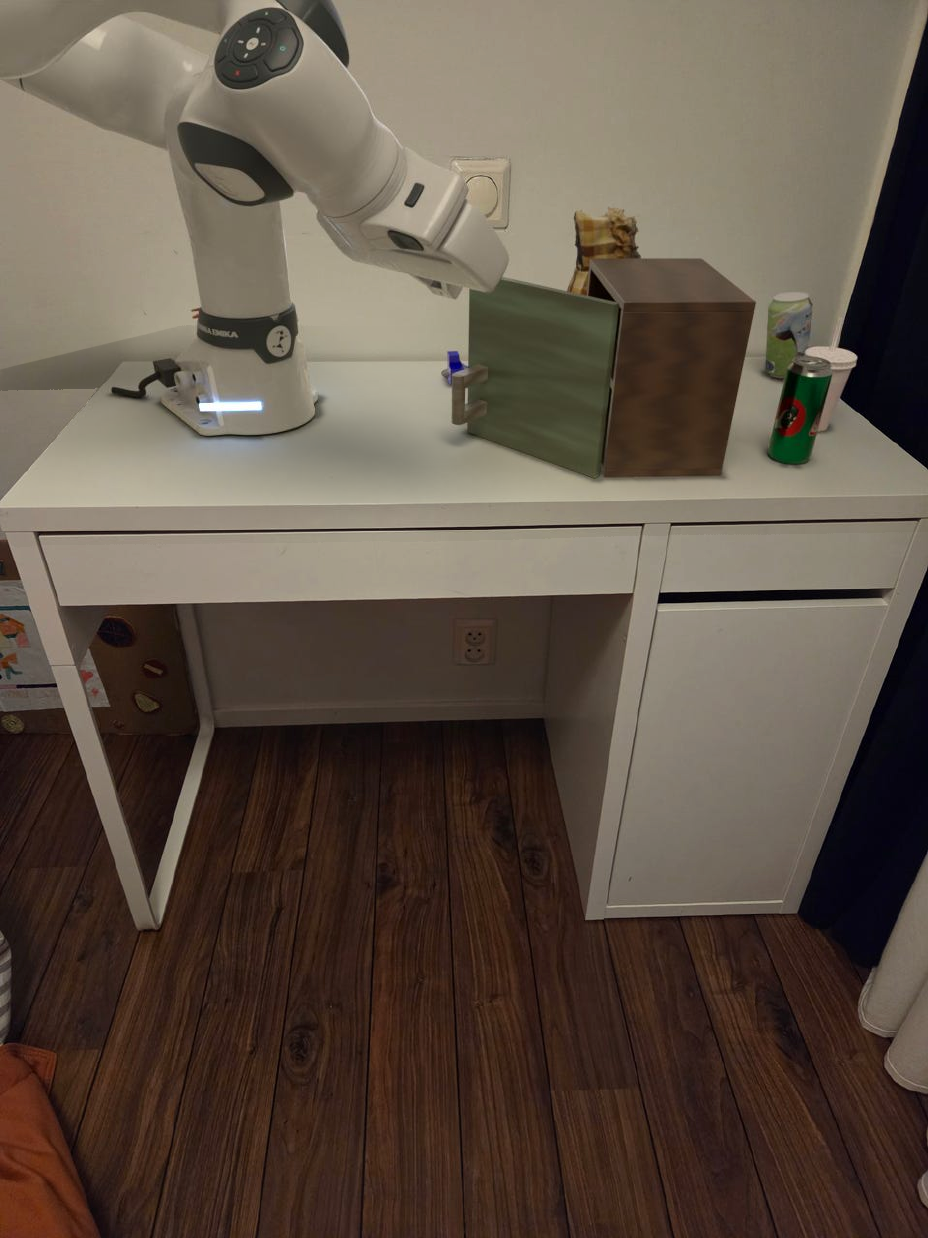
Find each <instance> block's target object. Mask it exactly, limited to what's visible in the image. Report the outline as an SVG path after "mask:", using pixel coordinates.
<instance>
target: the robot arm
mask: <svg viewBox="0 0 928 1238" xmlns="http://www.w3.org/2000/svg"><path fill="white" fill-rule="evenodd" d="M335 5H336V4H335V3H334V2H333V0H0V80H1V81H3V82H5V83H6V84H8V85H9V86H10V85H11V86H12V87H14V88H17V89H19V90H20V91H22V92H25V93H27V94H28V95H31V96H33V97H35V98H37V99H39V100H41V101H43V102H45V103H47V104H50V105H52V106H54V107H56V108H58V109H60V110H63V112H66V113H69V114H71V115H72V116H74V117H77V118H79V119H82V120H84V121H86V122H88V123H89V124H92V125H93V126H96V127H98V128H101V130H105V131H108V132H112V133H115V134H118V135H122V136H125V137H128V138H130V139H133V140H136V141H140V142H142V143H143V144H144V143H145V144H147V145H150V146H152V147H155V148H158V149H161V150H163V151H165V152H168V157H169V162H170V166H171V170H172V174H173V179H174V184H175V187H176V191H177V196H178V200H179V203H180V208H181V211H182V216H183V219H184V223H185V225H186V229H187V233H188V237H189V242H190V247H191V252H192V260H193V265H194V270H195V271H194V272H195V277H196V284H197V291H198V295H199V302H200V307H197V308H192V309H191V310H190V312H194V313H195V312H198V313H196V314H195V315H192V316H191V317H192V319H194V320H195V319H197V322H196V323H197V324H196V337H195V338H194V340H193V341H192V342H191V343H190V344H189V345H188V346H187V347H186V348H185V349H184V350H183V351H182V352H181V353H180V354H178V356H177V357H176V359H175V360H174V359H173V358H171V357H169V358H162V359H156V360H153V361H152V366H153V370H154V373H152V374H150V375H148V376H146V377H145V378H143V379H142V380H140V381H139V383H138V386H137V388H138V390H132V389H126V388H122V387H118V386H111V388H110V392H111V393H112V394H116V395H120V396H124V397H129V398H136V399H139V398H144V397H145V396H146V395H147V390H146V387H148V385H150V384H152V383H154V382H156V381H158V382H159V383H160V384H161V385H163V386H164V387H165V388H166V389H168V388H171V389H169V390H167V391H166V392H163V394H161V396H160V401H161V404H162V405H163V406H164V407H165V408H166V409H168V410H169V411H170V412H172V413H173V414H174V415H176V417H178V418H179V419H180V420H181V421H183V422H184V423H186V424H187V426H189V427H190V428H191V429H193V430H194V431H196V432H197V433H198V434H199V435H201V436H209V437H210V436H212V437H213V436H221V435H222V436H223V435H242V436H261V435H269V434H270V435H271V434H277V433H281V432H285V431H290V430H293V429H296V428H299V427H301V426H302V425H305V424H306V423H308V422H309V421H311V420H312V419H313V418H314V416H315V415H316V408H315V404H316V402H317V401H318V400H319V395H318V391H317V390H316V389H314V388H312V383H311V378H310V373H309V372H310V371H309V367H308V362H307V357H306V352H305V347H304V344H303V342H302V341H301V340H300V339H299V338H297V337H298V335H299V324H298V322H299V317H298V314H297V309H296V304H295V303H294V302H293V301H292V294H291V293H292V292H291V283H290V273H289V272H290V271H289V262H288V255H287V253H288V252H287V243H286V234H285V230H284V229H285V228H284V223H283V216H282V208H281V201H285V200H288V199H291V198H292V197H294V194H295V193H301V194H304V195H306V197H307V198H308V200H309V202H310V203H311V204H312V205H313V206H314V207H315V209H316V210H317V212H316V220H317V222H318V224H319V225H320V227H321V228H322V230H323V231H324V232H325V234H326V235H327V236H328V238H329V239H330V240H331V241H332V243H333V244H334V245H335V246H336V248H337V249H338V250H339V251H340V252H341V253H342V254H343V255H344V256H346V257H347V258H348V259H350V260H352V261H354V262H357V263H361V264H365V265H369V266H374V267H378V268H382V269H386V270H390V271H394V272H398V273H402V274H407V275H409V276H410V277H412V278H413V279H415V280H417V281H418V282H419V283H421V284H422V285H424V286H425V287H427V289H429V291H430V292H431V293H432V294H433V295H436V296H439V297H446V298H448V299H451V300H457V299H458V298H459V296H460V295H461V292H462V291H463V288H464V289H468V290H469V289H473V290H477V291H481V292H485V293H491V292H492V291H493V290H494V289H495V287H496V286H497V284H498V283H499V281H500V280H501V278H502V277H504V274H505V272H506V270H507V268H508V265H509V262H510V256H509V253H508V250H507V248H506V246H505V244H504V243H503V241H502V239H501V238H500V236H499V235H498V233H497V232H496V230H495V228H494V227H493V226H492V224H491V222H490V221H489V219H488V218H487V216H486V215H485V214H484V213H483V211H482V210H481V209H480V208H479V207H478V206H477V205H475V203H473V202H472V201H470V200H468V199H467V196H468V193H469V185H468V184H467V182H466V181H465V180H464V178H463V177H462V176H461V175H460V174H458V173H457V172H455V171H452V170H450V169H447V168H445V167H442V166H440V165H437V164H435V163H433V162H431V161H429V160H428V159H426V158H424V157H421V155H419V154H418V153H416V152H415V151H413V150H412V149H411V148H409V147H406V146H402V145H401V143H400V142H399V140H398V139H397V137H396V136H395V135H394V133H393V132H392V130H390V128H388V127H387V126H386V125H384V124H383V123H382V122H380V121H379V120H378V119H377V117H376V116H375V115H374V113H373V111H372V108H371V104H370V102H369V99H368V97H367V95H366V94H365V92H364V91H363V89H362V88H361V86H360V85H359V83H358V82H357V81H356V79H355V78H354V77H353V75H352V74H351V72H349V70H348V68H349V66H350V50H349V49H350V48H349V43H348V39H347V35H346V31H345V28H344V23H343V22H342V18H341V16H340V14H339V12H338V9H337V8H336V6H335ZM137 12H138V13H146V14H147V13H148V14H152V15H155V16H158V17H162V18H164V19H165V18H166V19H169V20H171V21H174V22H178V23H180V24H184V25H188V26H191V27H194V28H197V29H200V30H203V31H205V32H208V33H209V32H210V33H211V34H212V33H213V34H216V35H219V37H218V39H217V41H216V43H215V45H214V47H213V49H212V51H211V53H210V55H207V54H205V53H203V52H201V51H199V50H197V49H195V48H193V47H191V46H189V45H187V44H185V43H182V42H180V41H179V40H177V39H174V38H172V37H170V36H168V35H166V34H164V33H162V32H160V31H157V30H155V29H153V28H151V27H149V26H147V25H145V24H143V23H140V22H138V21H136V20H134V19H132V18H130V17H128V16H126V14H130V13H137ZM124 14H125V15H124Z"/></svg>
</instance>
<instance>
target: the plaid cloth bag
mask: <svg viewBox="0 0 928 1238" xmlns="http://www.w3.org/2000/svg"><path fill="white" fill-rule="evenodd" d="M607 210H608V211H606V212H605V214H604V215H600V216H593V215H590V214H588V213H586V212H583V209H581V210H580V209H576V210H575V212H574V215H573V222H574V230H575V240H574V242H575V243H574V246H575V247H576V260H575V268H574V270H573V275H572V277H571V280H570V282H569V284H568V287H567V290H566V291H568V292H573V293H577V294H581V295H586V296H587V286H588V275H589V265H590V259H591V258H642V256H641V254H640V253H639V251H638V249H639V245H637V243H636V235H637V234H638V232H640V231H639V227H637V219H636V216H626V215H625V214H624V212H625V209H624V208H623V209H621V208H619V207H610V206H607Z"/></svg>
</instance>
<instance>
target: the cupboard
mask: <svg viewBox="0 0 928 1238" xmlns="http://www.w3.org/2000/svg"><path fill="white" fill-rule="evenodd" d="M587 296H590V297H595V298H599V299H604V300H608V301H613V302H617V303H619V311H618V319H617V328H616V337H615V346H614V355H613V363H612V372H611V381H610V390H609V398H608V407H607V416H606V425H605V434H604V442H603V451H602V460H601V469H600V473H601V475H602V477H603V478H606V479H607V478H663V477H664V478H665V477H666V478H669V477H672V478H673V477H675V478H676V477H722V472H723V468H724V462H725V457H726V452H727V448H728V443H729V437H730V433H731V428H732V423H733V419H734V418H733V417H734V413H735V408H736V404H737V398H738V394H739V389H740V383H741V377H742V374H743V369H744V364H745V359H746V354H747V350H748V345H749V340H750V334H751V329H752V326H753V325H752V324H753V320H754V315H755V310H756V304H757V302H756V300H755V299H753V298H752V297H750V296H749V295H748V294H747V293H746V292H744V291H743V290H742V289H741V288H739V286H737V285H736V284H734V283H733V282H731V280H729V279H728V278H727V277H726V276H724V275H723V274H722V273H720V272H719V271H718V270H717V269H715V268H714V267H713V266H712V265H711V264H709V263H708V262H707V261H705V260H704V259H703V258H701V257H700V258H696V257H695V258H694V257H693V258H691V257H689V258H679V257H678V258H673V257H672V258H664V257H663V258H662V257H661V258H657V257H656V258H655V257H653V258H649V257H648V258H646V257H645V258H643V257H641V258H591V259H590V265H589V275H588V286H587Z"/></svg>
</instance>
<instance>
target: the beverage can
mask: <svg viewBox="0 0 928 1238" xmlns="http://www.w3.org/2000/svg"><path fill="white" fill-rule="evenodd" d="M767 308H768V309H767V324H766V325H767V328H766V346H765V347H766V348H765V350H766V351H765V363H764V365H765V367H764V369H765V372H766V373H767V374H769V376H771V377H773V378H775V379H781V380H782V379H783V380H784V379H785V375H786V370H787V367H788V366H789V365H790V364H791V363H792V360H793V358H795V357H798V356H804V355H805V351H806V350H807V349H809V348H810V343H811V332H812V331H811V330H812V319H813V315H812V314H813V302H812V300H811V299H810V294H809V293H808V292H806V291H805V292H804V291H785V292H780V293H777V294H774V296H773V297H772V301H771V302H770V304H769V305H768V307H767Z"/></svg>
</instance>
